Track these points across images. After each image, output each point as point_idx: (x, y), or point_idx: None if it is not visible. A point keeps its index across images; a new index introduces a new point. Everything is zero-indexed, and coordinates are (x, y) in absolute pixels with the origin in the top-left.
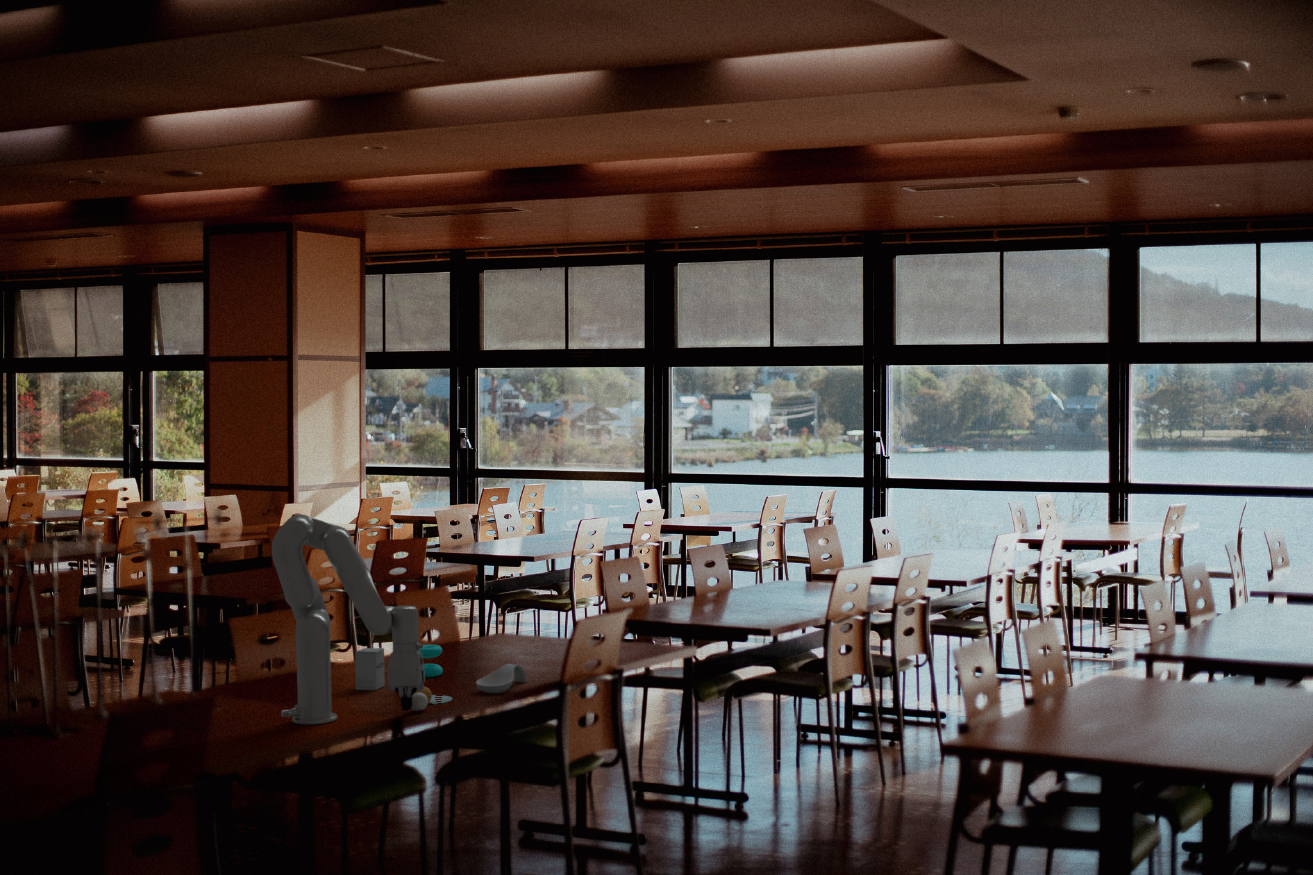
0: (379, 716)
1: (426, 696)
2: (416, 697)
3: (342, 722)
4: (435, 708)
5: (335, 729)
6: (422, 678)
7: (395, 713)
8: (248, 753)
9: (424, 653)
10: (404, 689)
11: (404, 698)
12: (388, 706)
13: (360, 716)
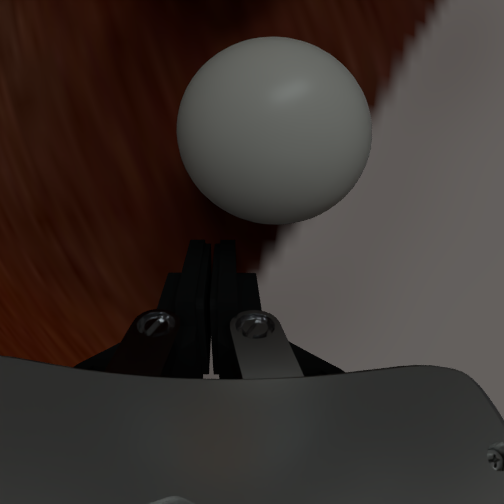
0: (75, 302)
1: (368, 114)
2: (281, 218)
3: None
4: (366, 45)
5: None
6: (478, 419)
7: (119, 221)
8: None
9: None
10: (161, 376)
11: (207, 372)
12: (11, 33)
13: (4, 301)
